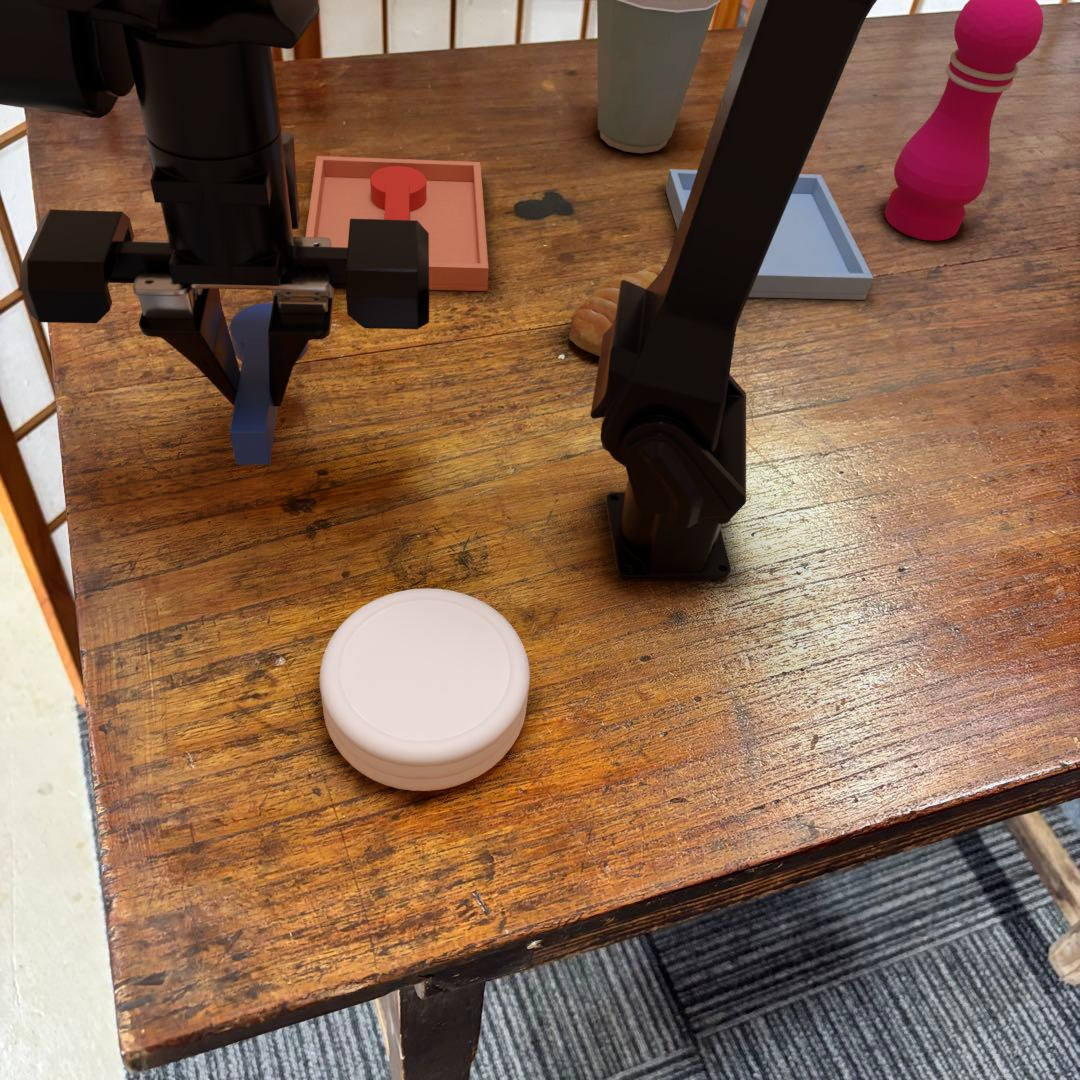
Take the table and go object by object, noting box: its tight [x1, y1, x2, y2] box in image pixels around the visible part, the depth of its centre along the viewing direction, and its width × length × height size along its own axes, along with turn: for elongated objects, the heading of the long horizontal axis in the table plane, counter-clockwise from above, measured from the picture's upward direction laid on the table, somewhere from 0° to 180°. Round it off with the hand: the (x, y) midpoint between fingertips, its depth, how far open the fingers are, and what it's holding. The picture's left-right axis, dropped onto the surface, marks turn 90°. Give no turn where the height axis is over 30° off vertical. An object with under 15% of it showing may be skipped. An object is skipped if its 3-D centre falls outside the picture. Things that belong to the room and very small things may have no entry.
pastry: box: [568, 263, 664, 357], centre depth 71 cm, size 9×7×4 cm
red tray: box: [305, 155, 489, 292], centre depth 78 cm, size 15×13×2 cm
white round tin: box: [318, 587, 531, 792], centre depth 50 cm, size 10×10×4 cm
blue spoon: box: [229, 302, 310, 466], centre depth 57 cm, size 12×4×2 cm, turn 5°
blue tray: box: [665, 168, 874, 301], centre depth 81 cm, size 15×13×2 cm
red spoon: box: [370, 166, 427, 220], centre depth 78 cm, size 12×4×2 cm, turn 4°
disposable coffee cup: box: [596, 0, 721, 154], centre depth 87 cm, size 11×11×15 cm
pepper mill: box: [884, 0, 1044, 242], centre depth 79 cm, size 7×7×20 cm
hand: (258, 401), depth 56 cm, fingers closed on blue spoon, 2 cm apart
